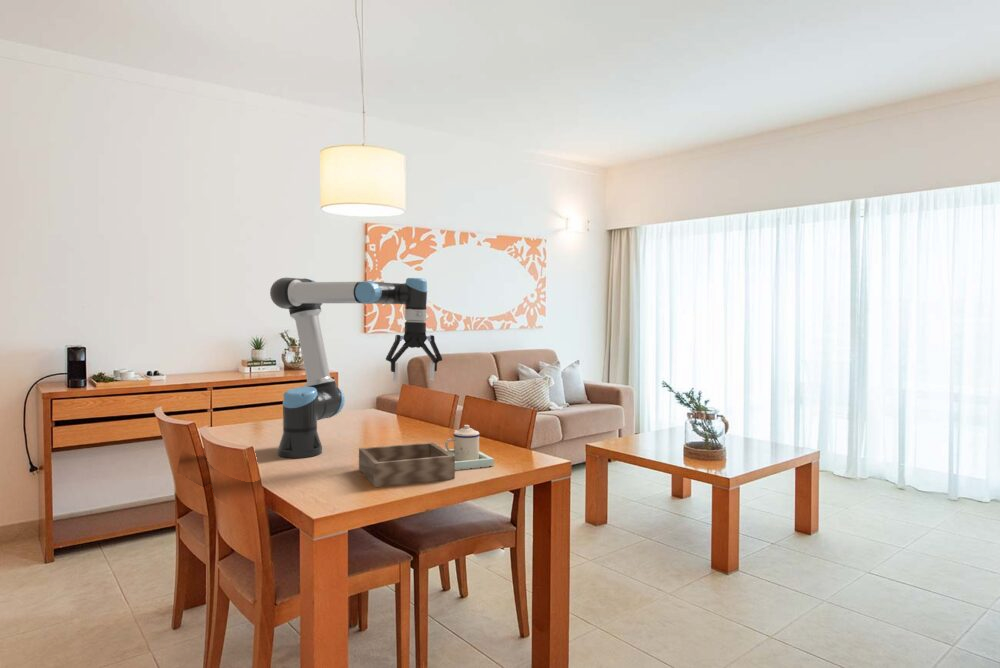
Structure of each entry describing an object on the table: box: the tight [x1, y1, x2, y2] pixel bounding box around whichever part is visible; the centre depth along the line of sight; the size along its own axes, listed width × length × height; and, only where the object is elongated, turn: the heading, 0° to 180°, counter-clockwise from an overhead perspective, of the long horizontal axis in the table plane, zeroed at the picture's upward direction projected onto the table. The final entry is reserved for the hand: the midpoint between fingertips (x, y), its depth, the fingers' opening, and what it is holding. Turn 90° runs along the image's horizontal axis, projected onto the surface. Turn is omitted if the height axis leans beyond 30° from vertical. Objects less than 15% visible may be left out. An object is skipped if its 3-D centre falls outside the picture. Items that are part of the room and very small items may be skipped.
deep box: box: [358, 441, 456, 488], centre depth 201 cm, size 25×22×7 cm
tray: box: [444, 448, 495, 471], centre depth 218 cm, size 16×19×2 cm
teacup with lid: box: [444, 424, 481, 461], centre depth 218 cm, size 12×9×12 cm
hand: (413, 380), depth 226 cm, fingers open, 13 cm apart
